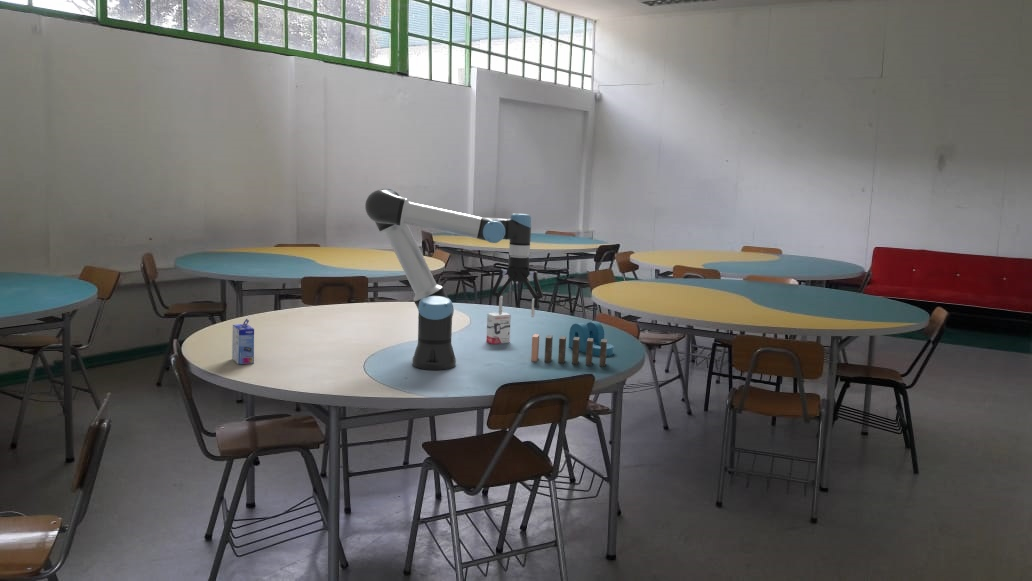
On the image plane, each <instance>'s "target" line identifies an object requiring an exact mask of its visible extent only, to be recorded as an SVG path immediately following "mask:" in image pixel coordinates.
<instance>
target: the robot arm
mask: <svg viewBox="0 0 1032 581" xmlns="http://www.w3.org/2000/svg"><path fill="white" fill-rule="evenodd" d="M364 203H365V205H364V206H365V208H364V209H365V213H366V215H367V217H369V219H370V220H371V221H373V222H374V223H375V225H376V227H377V230H378V232H380V233H381V234H384V235H385V236H386V238H387V239H388V242H389V244H390V246H391V248H392V250H393V251H394V254H395V256H396V258H397V260H398V262H399V264H400V267H401V268H402V270H403V272H404V274H405V276H406V279H407V281H408V282H409V285H410V286H411V290H413V292H414V297H413V302H414V304H415V306H416V308H417V311H418V319H417V320H418V324H417V325H418V326H417V328H418V329H417V345H416V348H415V351H414V355H413V357H412V360H411V361H412V362H411V363H412V367H415V368H416V369H417V368H418V369H420V370H421V369H422V370H426V371H427V370H429V371H442V370H449V369H452V368H455V367H456V364H457V363H456V362H457V358H456V355H455V352H454V349H453V345H452V337H453V336H452V333H453V332H452V330H453V329H452V328H453V316H454V311H455V310H454V305H453V302H452V300H451V299H450V298H449V297H448V295H447V292H446V291H445V289H444V286H442V285H440V284H438V283H437V282H436V280H435V278H434V276H433V274H432V270H430V268H429V265H428V263H427V262H426V259H425V258H424V255H423V253H422V251H421V249H420V247H419V245H418V243H417V241H416V239H415V237H414V235H413V232H412V230H411V229H410V226H415V227H419V228H424V229H429V230H434V231H439V232H443V233H448V234H454V235H458V236H463V237H467V238H472V239H477V240H481V241H486V242H488V243H491V244H497V243H500V242H501V241H502V240H505V241H506V240H509V245H508V246H509V248H508V255H509V257H508V267H507V269H504V268H501V269H500V270H499V275H498V277H497V280H496V282H495V285H494V287H493V288H492V289H493V290H491V294H492V296H495V297H496V302H495V304H496V306H498V313H499V315H501V314H502V312H503V303H504V302H503V299H504V298H503V297H504V296H503V293H504V292H505V290H506V289H507V288H508V286H509V285H510V284H511V283H512V282H513V283H515V282H516V283H517V282H518V283H524V285H525V286H526V288H527V289H528V290H529V292H530V294H531V295H532V297H533V298H532V299H531V312H530V313H531V314H530V315H531V316H530V317H531V318H534V317H535V309H537V308H538V307H539V300H540V299H542V298H543V297H544V294H543V290H542V288H541V283H540V281H539V277H538V271H536V270H535V271H532V270H530V257H529V256H530V254H531V236H532V235H531V233H532V216H531V215H530V214H528V213H511V214H510V218H498V217H481V216H477V215H471V214H468V213H464V212H463V213H462V212H458V211H454V210H448V209H444V208H439V207H435V206H432V205H427V204H422V203H421V204H420V203H416V202H412V201H409V199H408V198H407V197H403V196H401V195H400V194H399V193H397V192H396V191H395V190H393V189H390V188H381V189H377V190H374V191H373V192H371V193H370V194H369V195H368V196H367V198H366V200H365V202H364ZM409 225H410V226H409ZM506 274H507V275H508V277H509V278H508V279H507V280H506V281H505V283H504V285H502V286H501V288H500V290H499V291H498V289H499V287H500V285H501V283H502V280H503V278H504V276H505V275H506ZM529 276H531V278H533V282H534V286H535V289H536V291H537V292H536V291H535V289H534V287H533V286H532V284H531V282H530V280H529V278H528V277H529Z"/></svg>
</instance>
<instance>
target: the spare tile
mask: <svg viewBox="0 0 1032 581" xmlns="http://www.w3.org/2000/svg"><path fill="white" fill-rule="evenodd" d="M539 349H540V334H538V333H533V335H532V337H531V353H530V354H531V357H530V361H531V362H537V361H538V359H539V351H540V350H539Z"/></svg>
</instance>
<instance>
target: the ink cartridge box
mask: <svg viewBox="0 0 1032 581" xmlns="http://www.w3.org/2000/svg"><path fill="white" fill-rule="evenodd" d="M249 322H250V320H249V319H248V318H245V319H244V321H243V323H241V324H240V323H239V324H232V339H231V342H232V345H231V346H232V347H231V349H232V350H231V359H232V360H233V361H234V362H235V363H236V364H237V365H253V364H254V363H255V328H254V327H252V326H251V325H249Z"/></svg>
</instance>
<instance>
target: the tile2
mask: <svg viewBox="0 0 1032 581" xmlns="http://www.w3.org/2000/svg"><path fill="white" fill-rule="evenodd" d="M553 337H554V336H553V335H552V334H547V335H546V337H545V341H544V342H545V343H544V344H545V345H544V363H550V362H551V361H552V356H553Z"/></svg>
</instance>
